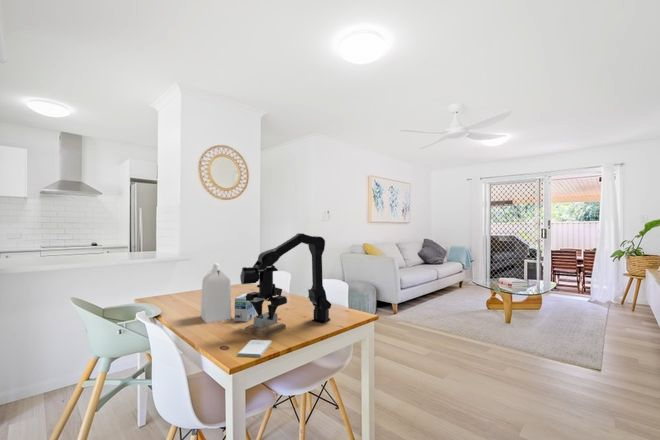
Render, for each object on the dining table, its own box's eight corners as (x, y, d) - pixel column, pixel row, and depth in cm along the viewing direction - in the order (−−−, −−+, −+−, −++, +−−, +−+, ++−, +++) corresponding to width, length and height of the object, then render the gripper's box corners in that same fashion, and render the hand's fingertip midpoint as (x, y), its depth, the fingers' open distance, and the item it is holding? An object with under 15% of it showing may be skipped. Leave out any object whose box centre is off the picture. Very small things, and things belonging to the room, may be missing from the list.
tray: (285, 329, 127) (285, 323, 128) (266, 337, 117) (266, 331, 117) (264, 324, 134) (264, 318, 134) (244, 332, 123) (244, 326, 123)
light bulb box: (247, 322, 136) (247, 298, 137) (233, 321, 138) (234, 298, 138) (257, 315, 147) (257, 293, 147) (244, 314, 148) (245, 293, 149)
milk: (231, 318, 141) (232, 264, 142) (206, 323, 135) (206, 266, 135) (224, 312, 151) (225, 261, 152) (200, 316, 145) (201, 263, 145)
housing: (262, 328, 120) (262, 317, 120) (253, 326, 123) (253, 315, 123) (277, 322, 128) (277, 312, 128) (268, 320, 131) (268, 310, 131)
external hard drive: (237, 357, 101) (250, 343, 113) (260, 359, 100) (271, 344, 112) (237, 353, 101) (250, 339, 113) (260, 354, 100) (271, 340, 112)
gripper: (295, 281, 128) (294, 317, 128) (263, 277, 138) (262, 311, 137) (278, 285, 118) (278, 324, 118) (245, 281, 128) (244, 317, 128)
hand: (265, 318), depth 126 cm, fingers open, 6 cm apart
